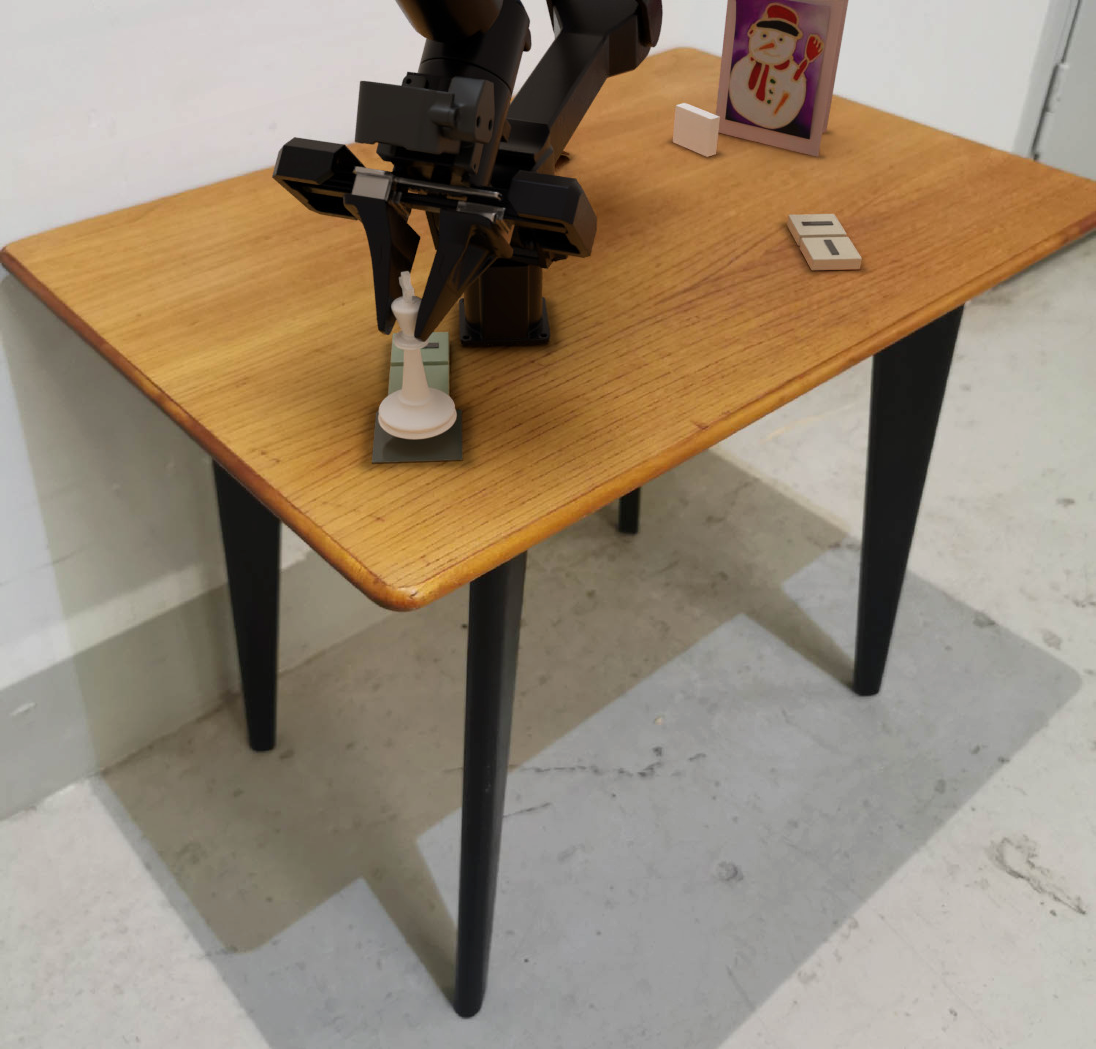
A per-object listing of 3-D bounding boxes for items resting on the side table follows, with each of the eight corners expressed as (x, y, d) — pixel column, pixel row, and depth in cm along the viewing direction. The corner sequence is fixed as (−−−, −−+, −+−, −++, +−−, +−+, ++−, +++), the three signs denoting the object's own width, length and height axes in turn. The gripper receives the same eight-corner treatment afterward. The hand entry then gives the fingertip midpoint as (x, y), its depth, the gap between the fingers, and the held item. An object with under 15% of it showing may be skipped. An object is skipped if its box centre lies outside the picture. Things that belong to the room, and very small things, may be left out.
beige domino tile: (860, 269, 90) (862, 257, 90) (811, 270, 90) (813, 258, 90) (832, 224, 97) (834, 212, 96) (786, 225, 97) (788, 213, 96)
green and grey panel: (462, 460, 70) (461, 445, 69) (371, 463, 69) (370, 448, 69) (460, 343, 81) (460, 329, 80) (382, 345, 81) (381, 331, 80)
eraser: (707, 157, 109) (710, 119, 106) (672, 142, 112) (675, 105, 109) (716, 154, 109) (720, 116, 107) (681, 139, 112) (684, 102, 110)
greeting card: (709, 134, 113) (726, -28, 104) (743, 113, 118) (762, -43, 108) (814, 159, 108) (841, -7, 99) (845, 136, 113) (874, -25, 104)
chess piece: (443, 389, 73) (434, 248, 67) (466, 430, 70) (459, 285, 63) (369, 404, 72) (353, 261, 66) (390, 446, 69) (374, 300, 62)
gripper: (262, -9, 61) (189, 265, 60) (588, 28, 57) (514, 325, 56) (344, 90, 72) (284, 324, 71) (624, 127, 67) (563, 378, 67)
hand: (401, 336), depth 66 cm, fingers closed on chess piece
